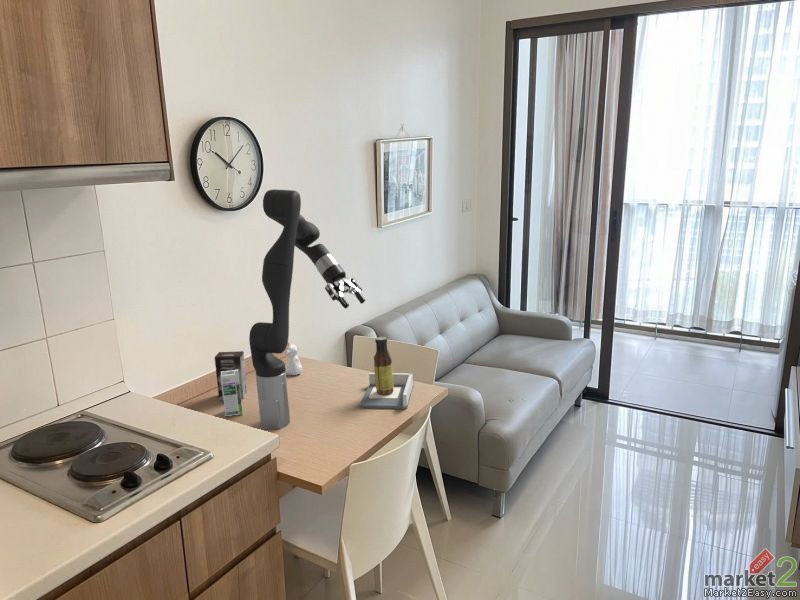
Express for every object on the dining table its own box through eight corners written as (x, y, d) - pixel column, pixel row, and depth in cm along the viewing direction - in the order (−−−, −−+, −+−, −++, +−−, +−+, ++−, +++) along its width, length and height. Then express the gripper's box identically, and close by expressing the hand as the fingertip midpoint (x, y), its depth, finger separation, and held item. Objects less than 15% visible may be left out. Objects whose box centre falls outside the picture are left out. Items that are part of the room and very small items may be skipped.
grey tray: (406, 408, 198) (406, 394, 197) (359, 407, 200) (359, 394, 199) (413, 386, 217) (412, 373, 216) (370, 385, 219) (369, 372, 218)
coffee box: (218, 400, 211) (213, 357, 207) (223, 393, 217) (218, 351, 213) (244, 399, 211) (239, 356, 207) (248, 392, 217) (243, 350, 214)
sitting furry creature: (296, 367, 241) (293, 339, 239) (310, 372, 236) (307, 343, 233) (277, 374, 235) (274, 345, 232) (291, 379, 229) (288, 349, 226)
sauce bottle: (397, 391, 210) (395, 337, 205) (386, 397, 205) (384, 342, 200) (382, 387, 214) (380, 334, 209) (371, 393, 209) (369, 339, 204)
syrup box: (224, 417, 196) (220, 376, 193) (225, 410, 202) (220, 370, 198) (242, 415, 198) (238, 374, 194) (242, 408, 203) (238, 368, 200)
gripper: (321, 266, 206) (347, 302, 202) (348, 260, 217) (374, 294, 213) (311, 279, 210) (336, 315, 206) (338, 273, 221) (363, 306, 217)
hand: (355, 304), depth 209 cm, fingers open, 8 cm apart
